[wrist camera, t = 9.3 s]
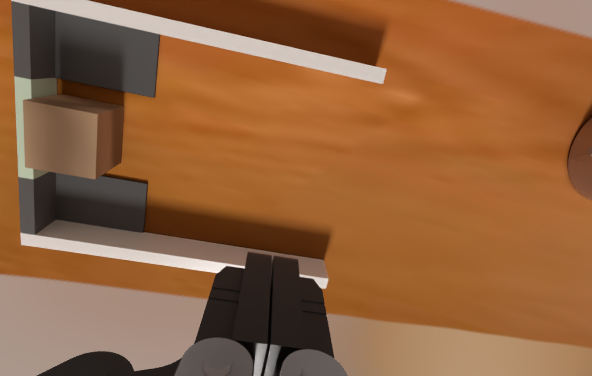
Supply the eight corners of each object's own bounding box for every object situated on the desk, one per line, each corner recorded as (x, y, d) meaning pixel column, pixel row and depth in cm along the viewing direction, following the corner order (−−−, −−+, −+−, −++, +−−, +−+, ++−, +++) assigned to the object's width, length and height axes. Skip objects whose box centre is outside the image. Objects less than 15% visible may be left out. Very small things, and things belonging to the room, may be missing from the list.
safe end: (57, 77, 26) (31, 79, 23) (57, 167, 28) (33, 179, 26) (42, 74, 26) (14, 76, 23) (43, 165, 28) (18, 176, 25)
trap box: (375, 68, 27) (386, 69, 25) (321, 269, 33) (325, 288, 30) (41, -9, 24) (10, -18, 22) (44, 227, 30) (21, 244, 27)
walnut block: (124, 106, 27) (97, 114, 23) (121, 161, 29) (95, 179, 24) (62, 93, 27) (22, 99, 22) (62, 151, 28) (24, 167, 24)
